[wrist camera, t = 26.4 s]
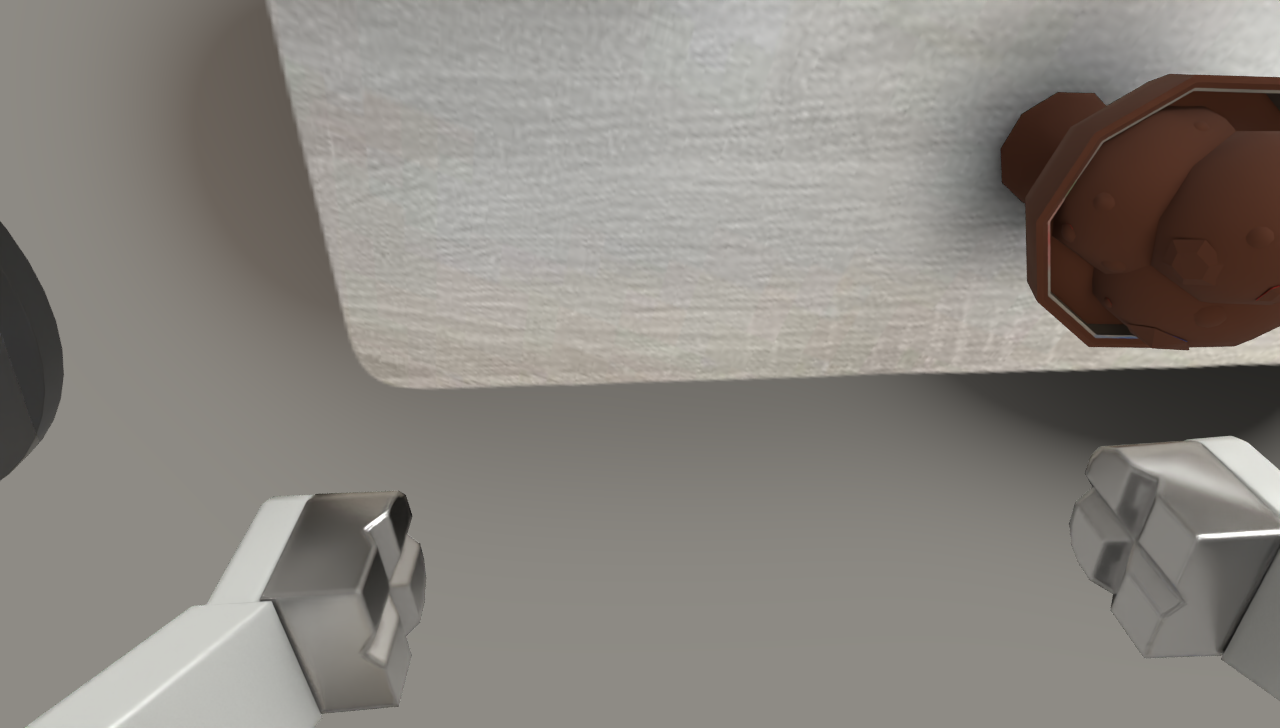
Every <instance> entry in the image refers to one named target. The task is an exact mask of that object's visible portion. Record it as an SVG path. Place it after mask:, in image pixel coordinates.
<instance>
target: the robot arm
mask: <svg viewBox="0 0 1280 728" xmlns="http://www.w3.org/2000/svg"><path fill="white" fill-rule="evenodd" d="M1085 475H1086V477H1087V478H1088V480H1089V482H1090V483H1091V485H1092V488H1091V489H1090V490H1089V491H1087V492H1086V493H1085V494H1084V495H1083V496H1082V497H1081V498H1079V499H1078V500H1077V501H1076V502H1075V505H1074V508H1073V512H1072V516H1071V519H1070V523H1069V525H1070V535H1071V545H1072V548H1073V551H1074V553H1075V556H1076V558H1077V561H1078V563H1079V565H1080V566H1081V568H1082V569H1083V571H1084V572H1085V574H1086V575H1087V577H1088V578H1089V580H1090V581H1092V582H1094V583H1095V584H1097V585H1099V586H1100V587H1102V588H1104V589H1105V590H1107V591H1109V592H1110V593H1112V594H1113V599H1112V605H1111V612H1112V613H1113V615H1114V616H1115V617H1116V619H1117V620H1118V622H1119V623H1120V625H1121V626H1122V627H1123V629H1124V630H1125V632H1126V633H1127V635H1128V636H1129V637H1130V639H1131V640H1132V642H1133V643H1134V645H1135V646H1136V647H1137V649H1138V650H1139V652H1140V653H1141V655H1142V656H1143V657H1144V658H1166V657H1192V656H1221V655H1223V656H1222V658H1221V660H1223V661H1224V662H1226V663H1227V664H1228V665H1230V666H1232V667H1233V668H1234V669H1236V670H1237V671H1238V672H1240V673H1241V674H1242V675H1244V676H1245V677H1247V678H1248V679H1249V680H1251V681H1252V682H1254V683H1255V684H1257V685H1258V686H1259V687H1261V688H1262V689H1264V690H1265V691H1266V692H1268V693H1269V694H1271V695H1272V696H1273V697H1275V698H1276V699H1278V700H1279V701H1280V470H1279V469H1277V468H1276V467H1275V466H1274V465H1273V464H1272V463H1271V462H1269V461H1268V460H1267V459H1266V458H1265V457H1263V456H1262V455H1261V454H1260V453H1259V452H1258V451H1257V450H1256V449H1254V448H1253V447H1252V446H1251V445H1250V444H1249V443H1248V442H1245V441H1243V440H1241V439H1238V438H1235V437H1233V436H1224V437H1213V438H1201V439H1188V440H1186V441H1174V442H1159V443H1145V444H1130V445H1117V446H1102V447H1099V448H1098V449H1097V450H1096V451H1095V452H1094V453H1093V454H1092V455H1091V457H1090V459H1089V462H1088V465H1087V468H1086V471H1085ZM411 519H412V513H411V510H410V507H409V504H408V501H407V497H406V495H405V494H403V493H402V492H400V491H381V492H380V491H378V492H353V493H329V494H315V495H301V496H300V495H297V496H276V497H272V498H270V499H269V500H267V501H266V502H264V503H263V504H262V505H261V507H260V509H259V511H258V512H257V514H256V516H255V518H254V520H253V521H252V523H251V525H250V527H249V529H248V530H247V532H246V534H245V536H244V538H243V539H242V541H241V543H240V545H239V547H238V548H237V550H236V552H235V554H234V555H233V558H232V560H231V561H230V563H229V564H228V566H227V568H226V570H225V572H224V573H223V575H222V577H221V579H220V581H219V582H218V584H217V586H216V588H215V590H214V592H213V593H212V595H211V597H210V599H209V601H208V602H207V604H206V605H201V606H192V607H190V608H189V609H187V610H186V611H185V612H183V613H182V614H181V615H179V616H178V617H176V618H175V619H174V620H172V621H171V622H170V623H168V624H167V625H165V626H164V627H163V628H161V629H160V630H159V631H157V632H156V633H154V634H153V635H152V636H150V637H149V638H147V639H146V640H145V641H143V642H142V643H141V644H139V645H138V646H136V647H135V648H134V649H132V650H131V651H129V652H128V653H127V654H125V655H124V656H123V657H121V658H120V659H118V660H117V661H116V662H114V663H113V664H112V665H110V666H109V667H107V668H106V669H105V670H103V671H102V672H100V673H99V674H98V675H96V676H95V677H94V678H92V679H91V680H90V681H88V682H87V683H85V684H84V685H83V686H81V687H80V688H78V689H77V690H76V691H75V692H73V693H71V694H70V695H69V696H68V697H66V698H65V699H63V700H62V701H60V702H59V703H58V704H56V705H55V706H54V707H52V708H51V709H49V710H48V711H47V712H45V713H44V714H42V715H41V716H40V717H38V718H37V719H36V720H34V721H33V722H31V723H30V724H29V725H27V726H26V727H25V728H314V727H315V726H316V725H317V724H318V722H319V721H320V720H321V719H322V715H321V714H324V713H334V712H345V711H355V710H367V709H377V708H388V707H398V706H399V703H400V699H401V695H402V691H403V688H404V684H405V680H406V676H407V672H408V668H409V664H410V660H411V656H412V654H411V651H410V648H409V644H408V641H407V638H406V636H407V635H408V634H409V633H410V632H411V631H412V630H413V629H414V628H415V627H416V626H417V625H418V624H419V623H420V620H421V616H422V611H423V607H424V603H425V587H426V573H425V563H424V557H423V553H422V549H421V546H420V543H418V542H417V541H416V540H415V539H413V538H412V537H411V536H409V535H408V534H407V533H408V529H409V526H410V523H411Z"/></svg>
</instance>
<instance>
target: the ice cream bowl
mask: <svg viewBox="0 0 1280 728" xmlns="http://www.w3.org/2000/svg"><path fill="white" fill-rule="evenodd" d="M1001 170H1002V183H1003V184H1004V185H1005V186H1006V187H1007V188H1008V189H1009V190H1010V191H1011V192H1012V193H1013V194H1014V195H1015V196H1017V197H1018V198H1019V199H1020V200H1021V201H1022V202H1023V203H1025V209H1026V256H1027V282H1028V284H1029V286H1030V288H1031V290H1032V292H1033V294H1034V296H1035V298H1036V300H1037V302H1038V303H1039V304H1041V305H1042V306H1043V307H1044V308H1045V309H1046V310H1047V311H1049V312H1050V313H1051V314H1052V315H1053V316H1054V317H1055V318H1057V319H1058V320H1059V321H1060V322H1061V323H1062V324H1063V325H1064V326H1066V327H1067V328H1068V329H1069V330H1070V331H1071V332H1072V333H1074V334H1075V335H1076V336H1077V337H1078V338H1079V339H1080V340H1081V341H1083V342H1084V343H1085V344H1086V345H1087V346H1088V347H1133V348H1156V349H1174V350H1189V347H1225V346H1236V345H1239V344H1241V343H1244V342H1246V341H1249V340H1252V339H1254V338H1256V337H1258V336H1260V335H1262V334H1264V333H1266V332H1269V331H1271V330H1273V329H1275V328H1277V327H1279V326H1280V77H1252V76H1220V75H1186V74H1168V75H1165V76H1163V77H1160V78H1157V79H1154V80H1152V81H1149V82H1147V83H1145V84H1144V85H1142V86H1140V87H1138V88H1137V89H1135V90H1133V91H1132V92H1130V93H1128V94H1126V95H1125V96H1123V97H1121V98H1120V99H1118V100H1116V101H1114V102H1113V103H1111V104H1109V105H1108V106H1106V105H1105V104H1104V103H1103V102H1102V101H1101V100H1100V99H1099V97H1098V96H1097V95H1096V94H1095V93H1067V92H1058V93H1056V94H1054V95H1053V96H1051V97H1049V98H1048V99H1046V100H1044V101H1043V102H1041V103H1039V104H1038V105H1036V106H1034V107H1033V108H1031V109H1029V110H1028V111H1026V112H1024V113H1023V114H1021V116H1020V118H1019V119H1018V121H1017V123H1016V124H1015V126H1014V128H1013V129H1012V131H1011V133H1010V134H1009V136H1008V138H1007V139H1006V141H1005V143H1004V144H1003V146H1002V148H1001Z"/></svg>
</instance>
